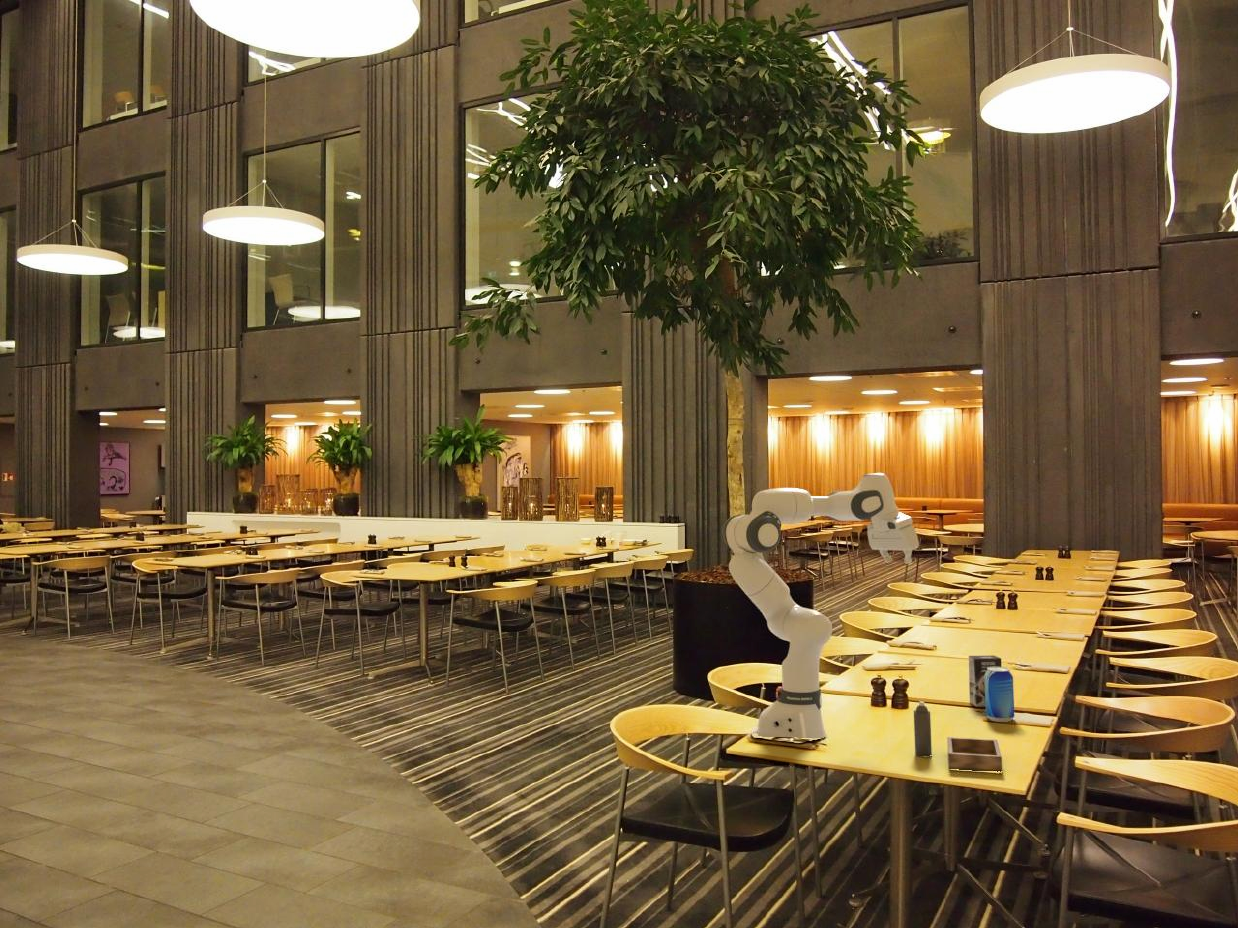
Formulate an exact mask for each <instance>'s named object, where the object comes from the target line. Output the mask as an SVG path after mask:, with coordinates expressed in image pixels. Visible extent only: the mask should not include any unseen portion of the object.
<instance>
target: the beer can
mask: <svg viewBox="0 0 1238 928" xmlns="http://www.w3.org/2000/svg"><path fill="white" fill-rule="evenodd" d="M987 669H988V670H987V672H986V673H985V675H984V679H985V706H986V707H985V716H986V717H987V719H988V718H989V719H990V720H989V719H988V720H989V721H992V722H996V723H997V722H998V723H1009V722H1008V721H1010V722H1012V721H1013V719H1014V717H1015V698H1014V676H1013V674H1012V672H1011V671H1010V668H1008V667H1003V666H1001V667H988V668H987ZM1011 720H1012V721H1011Z"/></svg>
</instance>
